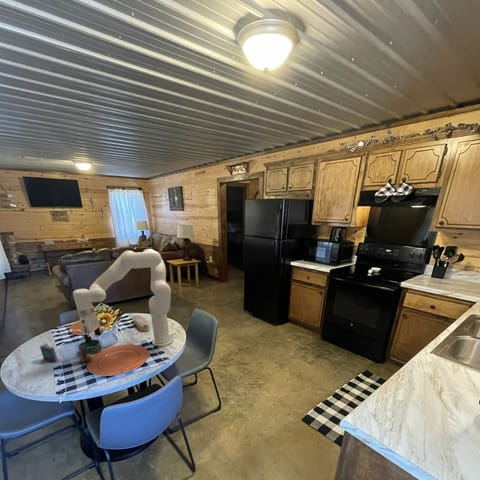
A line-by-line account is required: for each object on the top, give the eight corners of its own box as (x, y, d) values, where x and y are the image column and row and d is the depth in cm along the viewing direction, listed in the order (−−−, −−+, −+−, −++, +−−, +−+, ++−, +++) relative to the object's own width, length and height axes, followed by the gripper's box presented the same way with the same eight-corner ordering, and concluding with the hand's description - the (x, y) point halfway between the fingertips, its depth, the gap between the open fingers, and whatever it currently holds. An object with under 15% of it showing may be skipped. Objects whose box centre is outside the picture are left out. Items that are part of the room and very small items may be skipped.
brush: (87, 357, 155) (84, 343, 152) (93, 360, 153) (89, 346, 149) (78, 362, 151) (74, 347, 147) (84, 364, 148) (80, 350, 144)
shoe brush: (151, 329, 191) (150, 323, 189) (141, 332, 187) (140, 326, 185) (141, 319, 209) (140, 313, 207) (131, 321, 205) (130, 316, 203)
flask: (59, 360, 153) (53, 343, 149) (54, 362, 150) (49, 346, 146) (46, 357, 155) (41, 341, 151) (42, 360, 153) (36, 344, 148)
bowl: (94, 343, 171) (92, 337, 170) (106, 348, 165) (104, 342, 164) (75, 351, 162) (73, 345, 160) (87, 357, 156) (85, 350, 154)
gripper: (83, 317, 135) (92, 346, 142) (100, 305, 151) (107, 332, 158) (69, 317, 135) (78, 346, 142) (88, 306, 151) (95, 332, 158)
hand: (93, 339), depth 150 cm, fingers open, 9 cm apart
